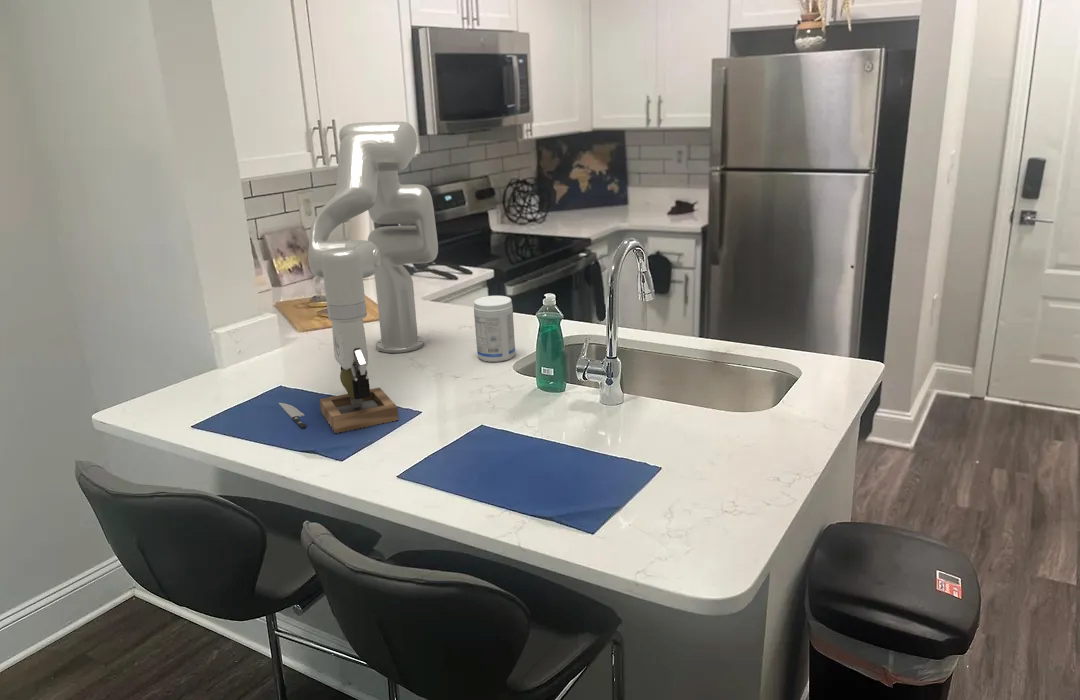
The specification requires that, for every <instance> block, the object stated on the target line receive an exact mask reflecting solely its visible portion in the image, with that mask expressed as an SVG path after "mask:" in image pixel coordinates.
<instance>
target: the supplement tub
mask: <svg viewBox="0 0 1080 700" xmlns="http://www.w3.org/2000/svg"><path fill="white" fill-rule="evenodd" d="M473 315H474V316H473V317H474V328H475V330H474V331H475V342H476V352H477V354H476V355H477V357H478V358H479V360H481V361H483V362H487V361H488V362H489V363H498V362H499V363H500V362H505V361H508V360H510V359H512V358H513V357H515V355H516V344H515V343H516V341H515V328H514V327H515V324H514V309H513V302H512V298H511V297H509V296H505V295H486V296H483V297H477V298H476V299H475V300H474V301H473Z"/></svg>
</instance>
